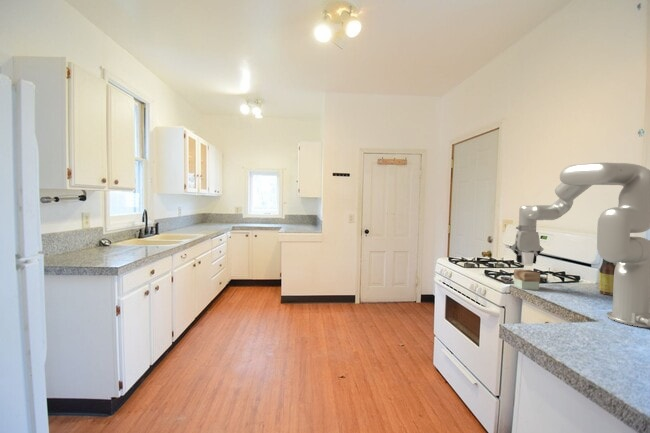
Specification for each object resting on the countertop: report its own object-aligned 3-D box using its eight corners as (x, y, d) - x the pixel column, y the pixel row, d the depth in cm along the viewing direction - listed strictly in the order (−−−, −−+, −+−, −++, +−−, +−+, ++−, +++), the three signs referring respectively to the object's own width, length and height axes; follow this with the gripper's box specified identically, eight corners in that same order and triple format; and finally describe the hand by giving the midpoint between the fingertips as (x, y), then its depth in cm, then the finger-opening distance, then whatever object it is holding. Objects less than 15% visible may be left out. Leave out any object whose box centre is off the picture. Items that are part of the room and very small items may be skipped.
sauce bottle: (608, 292, 139) (610, 253, 139) (620, 296, 133) (622, 255, 132) (594, 291, 140) (596, 252, 139) (606, 295, 134) (607, 254, 133)
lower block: (539, 290, 142) (539, 282, 142) (521, 289, 144) (522, 281, 144) (530, 286, 150) (530, 278, 150) (514, 285, 152) (514, 277, 151)
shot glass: (537, 265, 144) (537, 252, 143) (523, 265, 144) (524, 252, 143) (527, 263, 150) (528, 250, 150) (515, 263, 150) (515, 250, 150)
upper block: (540, 281, 143) (540, 273, 142) (524, 281, 143) (524, 272, 143) (528, 277, 151) (529, 269, 150) (514, 277, 151) (514, 269, 151)
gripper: (512, 229, 144) (511, 263, 145) (550, 230, 141) (548, 265, 142) (506, 228, 151) (505, 260, 152) (541, 228, 148) (540, 262, 149)
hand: (526, 262), depth 147 cm, fingers closed on shot glass, 6 cm apart
